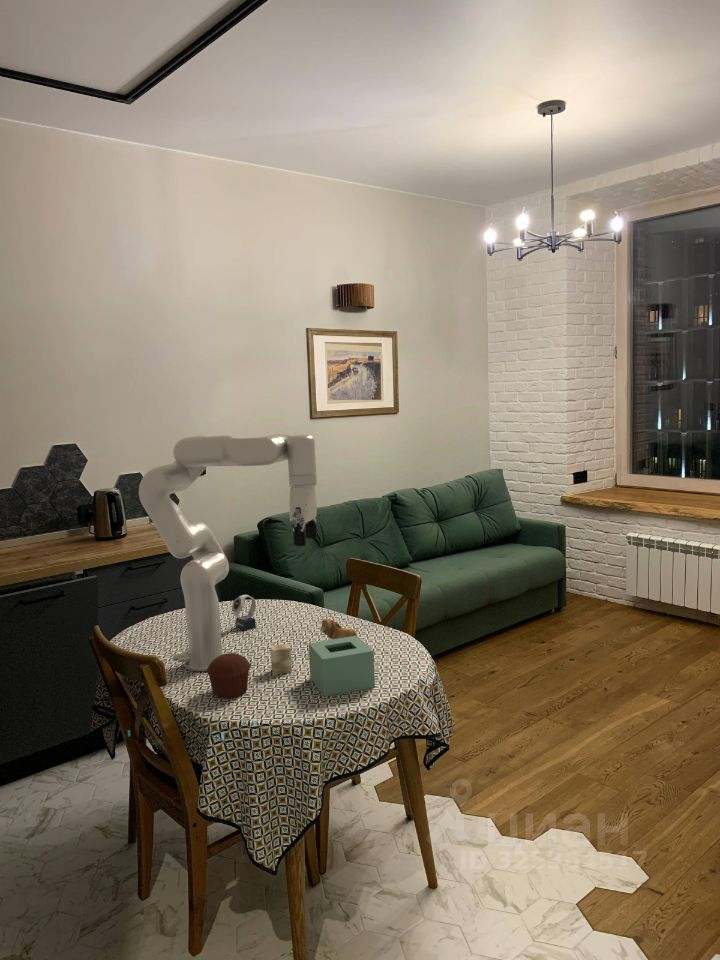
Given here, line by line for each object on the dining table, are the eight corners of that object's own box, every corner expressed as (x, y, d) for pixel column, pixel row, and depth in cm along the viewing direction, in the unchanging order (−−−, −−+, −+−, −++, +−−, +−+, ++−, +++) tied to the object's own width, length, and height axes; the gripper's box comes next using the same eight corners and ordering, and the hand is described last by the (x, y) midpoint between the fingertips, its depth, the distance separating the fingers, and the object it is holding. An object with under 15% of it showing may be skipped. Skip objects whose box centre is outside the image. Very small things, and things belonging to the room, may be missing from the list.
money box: (324, 696, 187) (322, 659, 186) (310, 678, 199) (308, 643, 198) (374, 687, 192) (373, 650, 190) (358, 669, 204) (356, 635, 202)
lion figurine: (318, 649, 221) (317, 620, 220) (326, 643, 226) (325, 615, 225) (362, 654, 215) (361, 625, 214) (369, 648, 220) (368, 620, 219)
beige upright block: (274, 674, 202) (273, 650, 201) (271, 670, 206) (270, 646, 205) (291, 671, 204) (290, 648, 203) (288, 667, 207) (287, 644, 206)
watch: (231, 628, 243) (228, 596, 242) (251, 622, 248) (249, 591, 247) (239, 632, 239) (237, 600, 237) (260, 626, 244) (258, 595, 242)
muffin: (240, 679, 200) (238, 644, 199) (260, 692, 191) (258, 656, 190) (200, 691, 193) (198, 655, 192) (219, 705, 184) (216, 667, 183)
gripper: (300, 476, 207) (303, 535, 209) (278, 484, 190) (281, 548, 192) (325, 476, 205) (328, 535, 207) (305, 484, 188) (308, 549, 190)
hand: (305, 541), depth 199 cm, fingers open, 9 cm apart
